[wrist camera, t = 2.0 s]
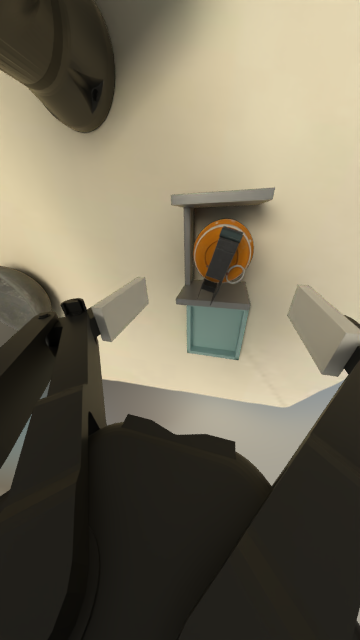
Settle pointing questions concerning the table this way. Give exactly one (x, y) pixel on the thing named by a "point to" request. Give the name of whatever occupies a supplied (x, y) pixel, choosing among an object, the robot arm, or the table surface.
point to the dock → (228, 293)
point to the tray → (215, 331)
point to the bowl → (20, 298)
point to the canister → (222, 253)
